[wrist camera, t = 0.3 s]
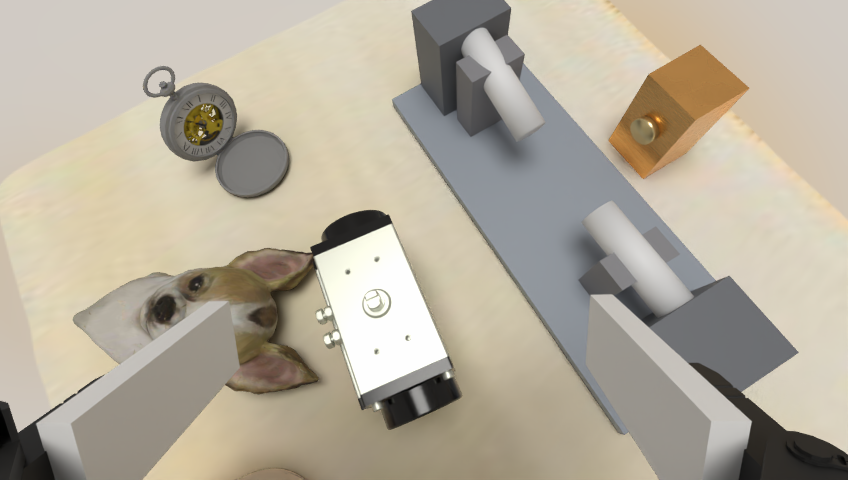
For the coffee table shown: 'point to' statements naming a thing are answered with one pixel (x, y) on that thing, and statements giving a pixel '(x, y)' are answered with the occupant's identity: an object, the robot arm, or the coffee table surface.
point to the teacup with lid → (272, 475)
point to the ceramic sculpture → (185, 293)
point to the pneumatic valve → (382, 320)
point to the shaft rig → (565, 204)
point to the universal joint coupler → (675, 110)
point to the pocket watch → (219, 137)
